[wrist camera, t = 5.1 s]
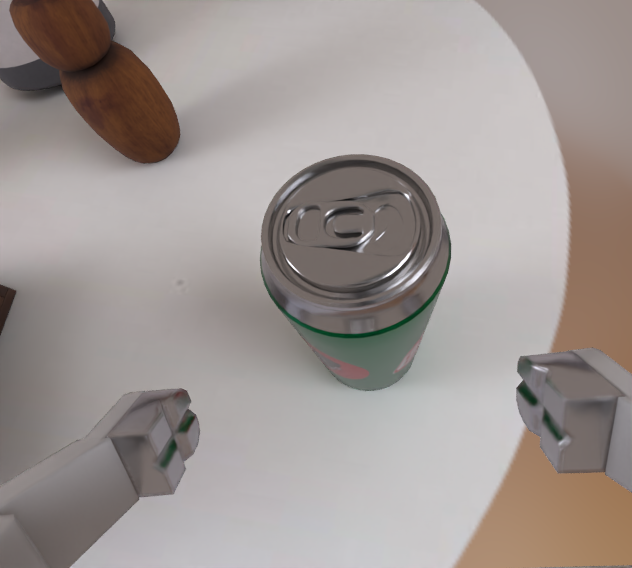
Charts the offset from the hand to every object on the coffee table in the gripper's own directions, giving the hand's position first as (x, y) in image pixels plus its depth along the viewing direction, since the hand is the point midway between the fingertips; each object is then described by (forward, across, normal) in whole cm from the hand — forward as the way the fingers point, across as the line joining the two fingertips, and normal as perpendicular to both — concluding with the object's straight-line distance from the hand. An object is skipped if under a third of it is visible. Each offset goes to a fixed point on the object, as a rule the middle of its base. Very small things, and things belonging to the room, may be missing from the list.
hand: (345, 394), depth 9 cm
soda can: (+10, -1, +5) cm, 11 cm away
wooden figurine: (+23, +15, -8) cm, 29 cm away
